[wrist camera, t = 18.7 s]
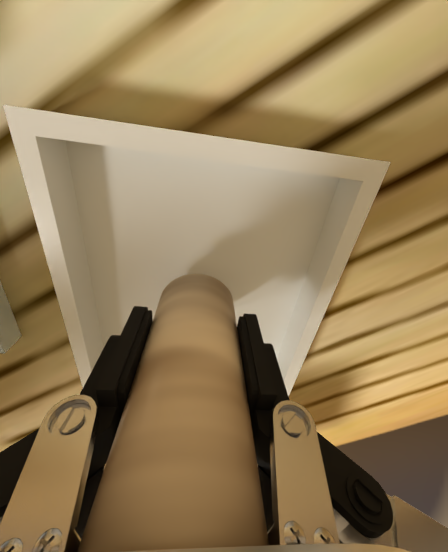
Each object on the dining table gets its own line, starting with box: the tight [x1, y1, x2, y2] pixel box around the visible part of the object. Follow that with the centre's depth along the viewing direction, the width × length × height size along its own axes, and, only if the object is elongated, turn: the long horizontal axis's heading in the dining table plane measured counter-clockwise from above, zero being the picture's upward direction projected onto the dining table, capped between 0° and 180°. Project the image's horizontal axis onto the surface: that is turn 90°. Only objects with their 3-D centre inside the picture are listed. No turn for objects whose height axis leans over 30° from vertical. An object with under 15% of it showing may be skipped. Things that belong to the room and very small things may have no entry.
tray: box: [3, 105, 391, 397], centre depth 13 cm, size 16×14×2 cm
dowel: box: [77, 274, 269, 552], centre depth 8 cm, size 4×4×10 cm
